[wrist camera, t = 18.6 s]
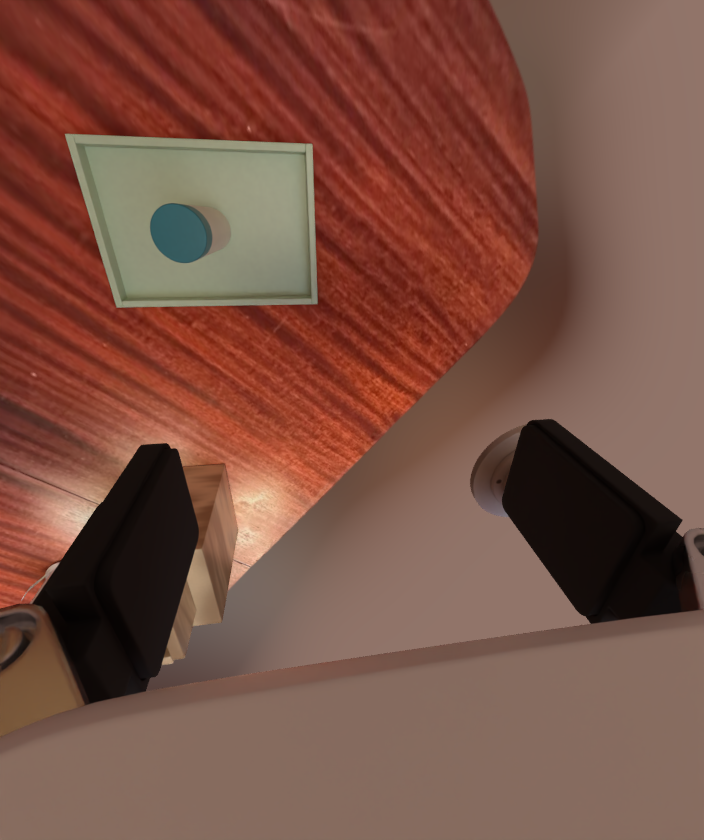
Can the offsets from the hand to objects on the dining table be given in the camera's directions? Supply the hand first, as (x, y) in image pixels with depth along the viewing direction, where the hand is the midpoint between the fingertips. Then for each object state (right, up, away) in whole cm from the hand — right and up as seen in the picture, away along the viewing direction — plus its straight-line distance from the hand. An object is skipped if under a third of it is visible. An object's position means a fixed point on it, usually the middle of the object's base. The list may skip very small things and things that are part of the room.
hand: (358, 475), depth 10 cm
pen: (-13, +19, +24) cm, 33 cm away
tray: (-13, +20, +24) cm, 34 cm away
